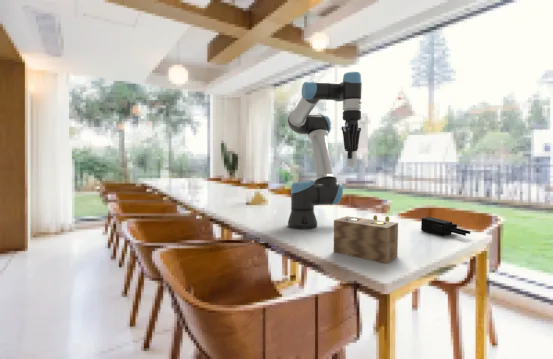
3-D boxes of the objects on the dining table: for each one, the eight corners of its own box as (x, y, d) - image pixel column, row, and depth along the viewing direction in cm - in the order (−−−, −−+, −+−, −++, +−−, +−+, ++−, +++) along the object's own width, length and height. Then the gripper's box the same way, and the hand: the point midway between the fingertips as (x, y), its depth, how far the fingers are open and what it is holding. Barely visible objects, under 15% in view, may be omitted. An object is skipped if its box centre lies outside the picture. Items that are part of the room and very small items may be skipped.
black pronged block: (474, 239, 134) (432, 228, 151) (476, 225, 133) (433, 216, 151) (459, 243, 129) (417, 231, 146) (460, 228, 128) (418, 218, 145)
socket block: (333, 251, 116) (333, 220, 115) (346, 246, 123) (346, 216, 122) (386, 263, 102) (387, 227, 102) (397, 256, 110) (398, 222, 109)
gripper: (352, 108, 123) (351, 167, 125) (367, 111, 132) (366, 166, 134) (336, 109, 128) (335, 166, 130) (351, 112, 137) (350, 165, 139)
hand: (350, 166), depth 132 cm, fingers closed
